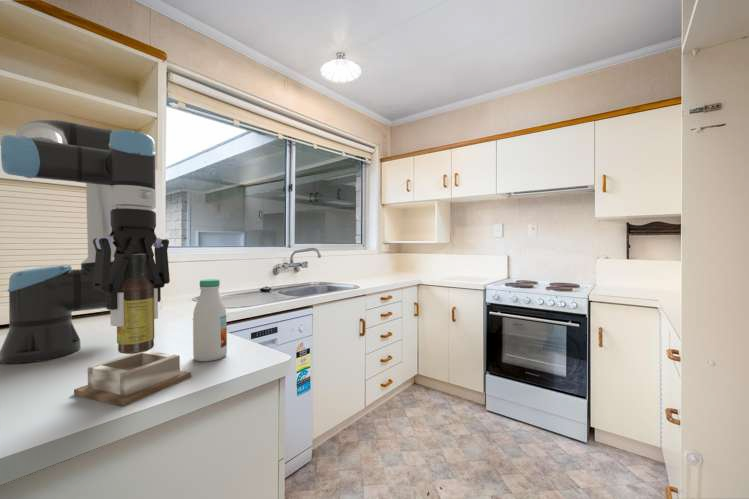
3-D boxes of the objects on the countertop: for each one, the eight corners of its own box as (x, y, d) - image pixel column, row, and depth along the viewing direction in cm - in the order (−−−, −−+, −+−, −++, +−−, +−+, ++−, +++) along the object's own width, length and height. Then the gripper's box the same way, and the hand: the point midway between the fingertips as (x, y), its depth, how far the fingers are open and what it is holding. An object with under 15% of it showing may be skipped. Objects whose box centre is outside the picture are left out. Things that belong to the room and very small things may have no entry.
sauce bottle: (125, 347, 70) (125, 253, 69) (159, 344, 71) (158, 253, 71) (109, 356, 63) (109, 253, 63) (146, 353, 65) (146, 253, 65)
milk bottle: (213, 363, 80) (212, 281, 80) (186, 361, 81) (185, 281, 81) (233, 353, 87) (232, 278, 87) (207, 351, 89) (207, 278, 89)
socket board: (74, 394, 63) (73, 368, 63) (146, 368, 76) (146, 347, 76) (122, 406, 58) (122, 378, 58) (191, 376, 71) (190, 354, 71)
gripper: (91, 202, 57) (93, 335, 57) (188, 212, 75) (189, 313, 75) (65, 204, 59) (67, 331, 59) (165, 214, 77) (166, 311, 77)
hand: (135, 321), depth 67 cm, fingers closed on sauce bottle, 6 cm apart
